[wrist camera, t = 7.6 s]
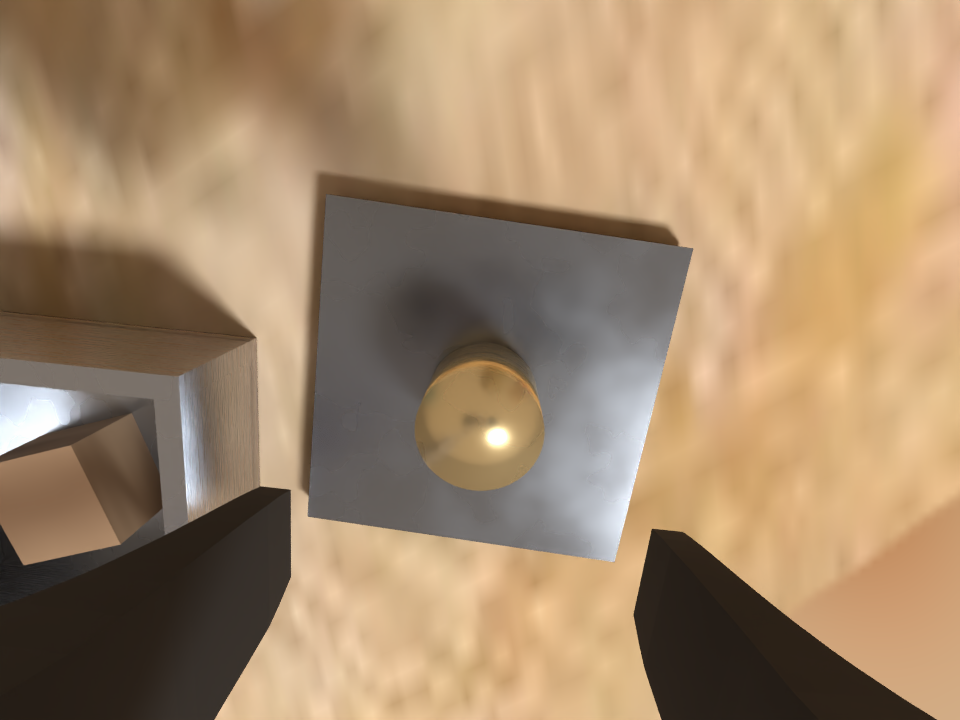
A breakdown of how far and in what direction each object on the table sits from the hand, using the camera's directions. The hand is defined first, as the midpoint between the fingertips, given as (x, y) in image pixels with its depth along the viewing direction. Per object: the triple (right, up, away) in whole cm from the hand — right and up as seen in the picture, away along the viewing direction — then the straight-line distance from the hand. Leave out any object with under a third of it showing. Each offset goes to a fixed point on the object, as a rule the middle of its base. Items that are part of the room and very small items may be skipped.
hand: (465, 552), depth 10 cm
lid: (0, +3, +10) cm, 11 cm away
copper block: (-15, -1, +11) cm, 19 cm away
